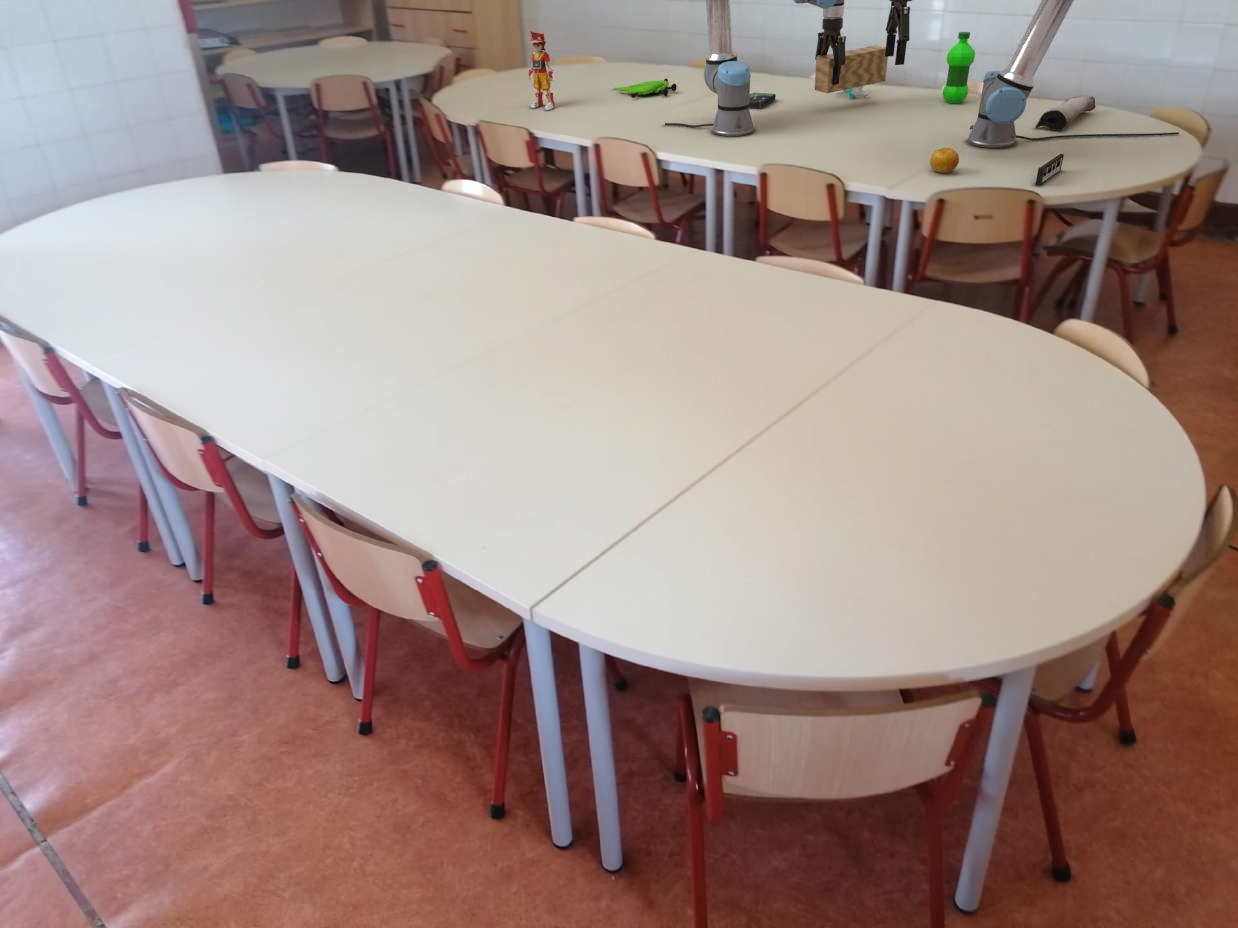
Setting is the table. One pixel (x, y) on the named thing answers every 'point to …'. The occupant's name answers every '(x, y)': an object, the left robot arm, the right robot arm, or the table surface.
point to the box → (852, 69)
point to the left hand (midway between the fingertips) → (828, 82)
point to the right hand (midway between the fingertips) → (894, 60)
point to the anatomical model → (856, 92)
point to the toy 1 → (541, 71)
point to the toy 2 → (648, 88)
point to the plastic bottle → (958, 69)
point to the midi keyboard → (1049, 169)
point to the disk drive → (760, 99)
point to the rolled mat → (1066, 112)
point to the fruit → (944, 160)
